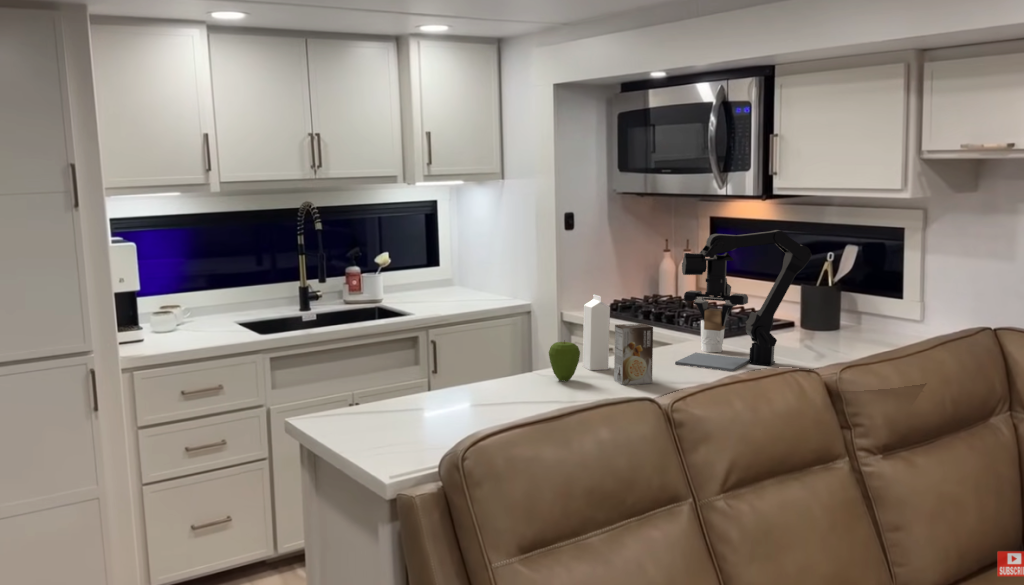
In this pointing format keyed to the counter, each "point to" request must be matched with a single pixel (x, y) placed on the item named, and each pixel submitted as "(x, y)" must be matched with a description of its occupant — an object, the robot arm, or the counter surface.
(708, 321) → the walnut block
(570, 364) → the apple
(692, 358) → the slate mat
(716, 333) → the white cup
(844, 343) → the counter surface
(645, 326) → the printed cardboard box
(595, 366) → the milk
